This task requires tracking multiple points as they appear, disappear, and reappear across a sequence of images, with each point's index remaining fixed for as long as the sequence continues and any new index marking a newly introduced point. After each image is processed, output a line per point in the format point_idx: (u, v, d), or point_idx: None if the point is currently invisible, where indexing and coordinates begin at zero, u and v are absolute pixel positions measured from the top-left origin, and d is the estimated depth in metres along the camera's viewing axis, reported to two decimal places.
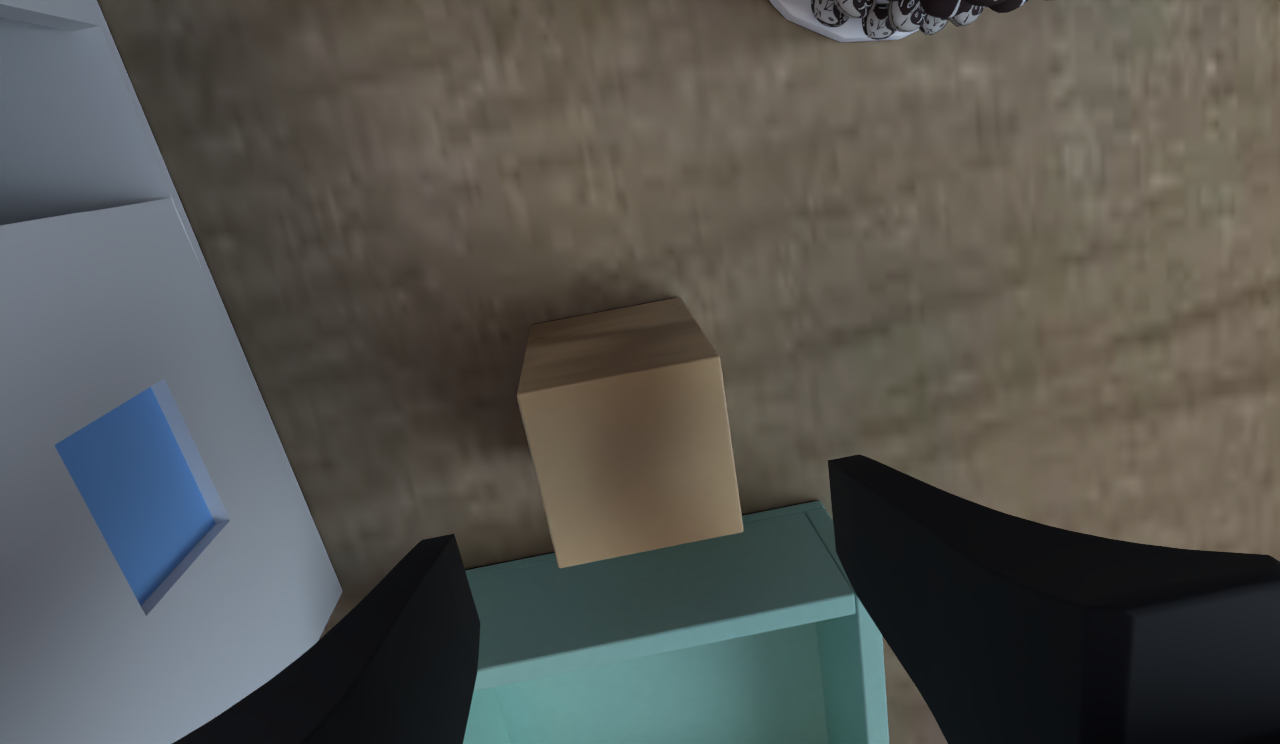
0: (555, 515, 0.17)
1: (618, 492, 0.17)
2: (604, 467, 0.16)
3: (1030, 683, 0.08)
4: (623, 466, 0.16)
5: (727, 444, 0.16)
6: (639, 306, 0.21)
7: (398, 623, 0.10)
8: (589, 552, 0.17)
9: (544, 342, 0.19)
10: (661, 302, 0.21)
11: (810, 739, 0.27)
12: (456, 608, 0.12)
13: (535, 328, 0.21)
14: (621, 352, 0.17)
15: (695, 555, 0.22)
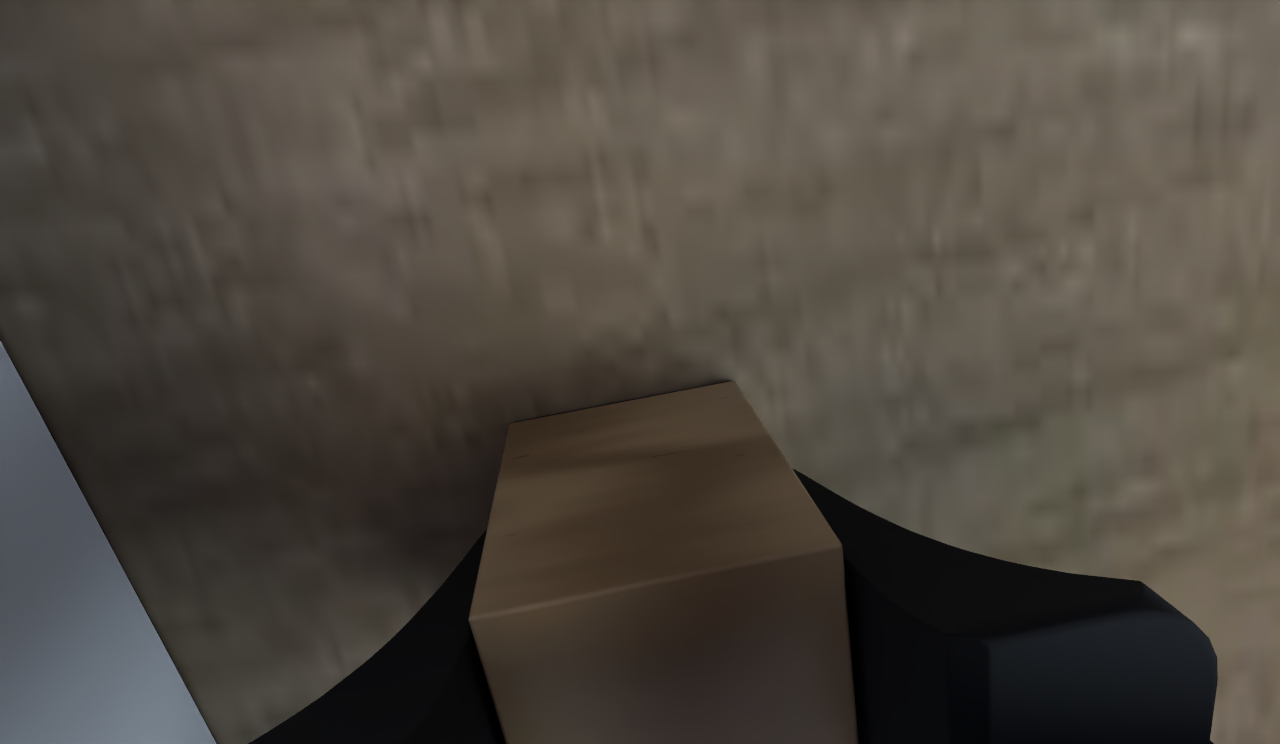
0: None
1: None
2: (627, 730, 0.09)
3: (914, 707, 0.08)
4: (662, 727, 0.09)
5: (847, 686, 0.09)
6: (673, 397, 0.14)
7: None
8: None
9: (527, 466, 0.12)
10: (707, 390, 0.14)
11: None
12: None
13: (515, 432, 0.14)
14: (655, 512, 0.10)
15: None
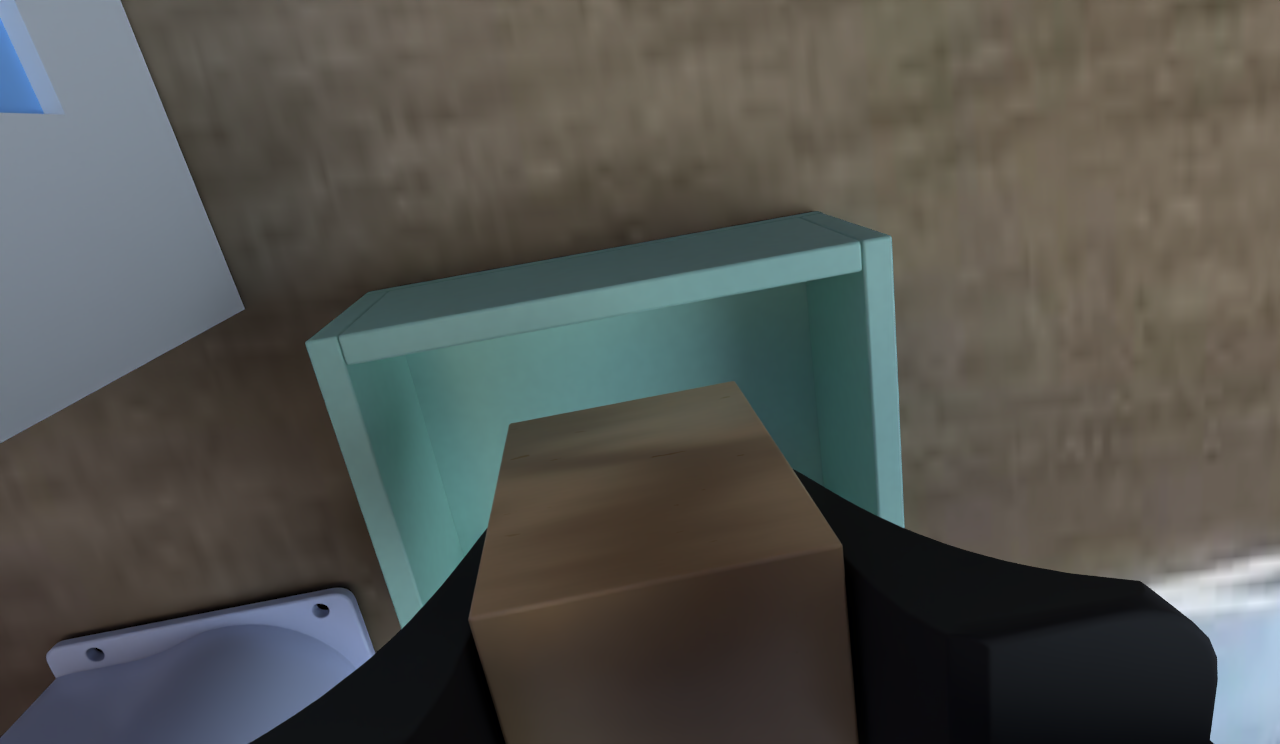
0: None
1: None
2: (627, 731, 0.09)
3: (913, 707, 0.08)
4: (662, 727, 0.09)
5: (847, 686, 0.09)
6: (673, 397, 0.14)
7: None
8: None
9: (527, 467, 0.12)
10: (707, 390, 0.14)
11: None
12: None
13: (515, 432, 0.14)
14: (656, 511, 0.10)
15: (666, 248, 0.18)
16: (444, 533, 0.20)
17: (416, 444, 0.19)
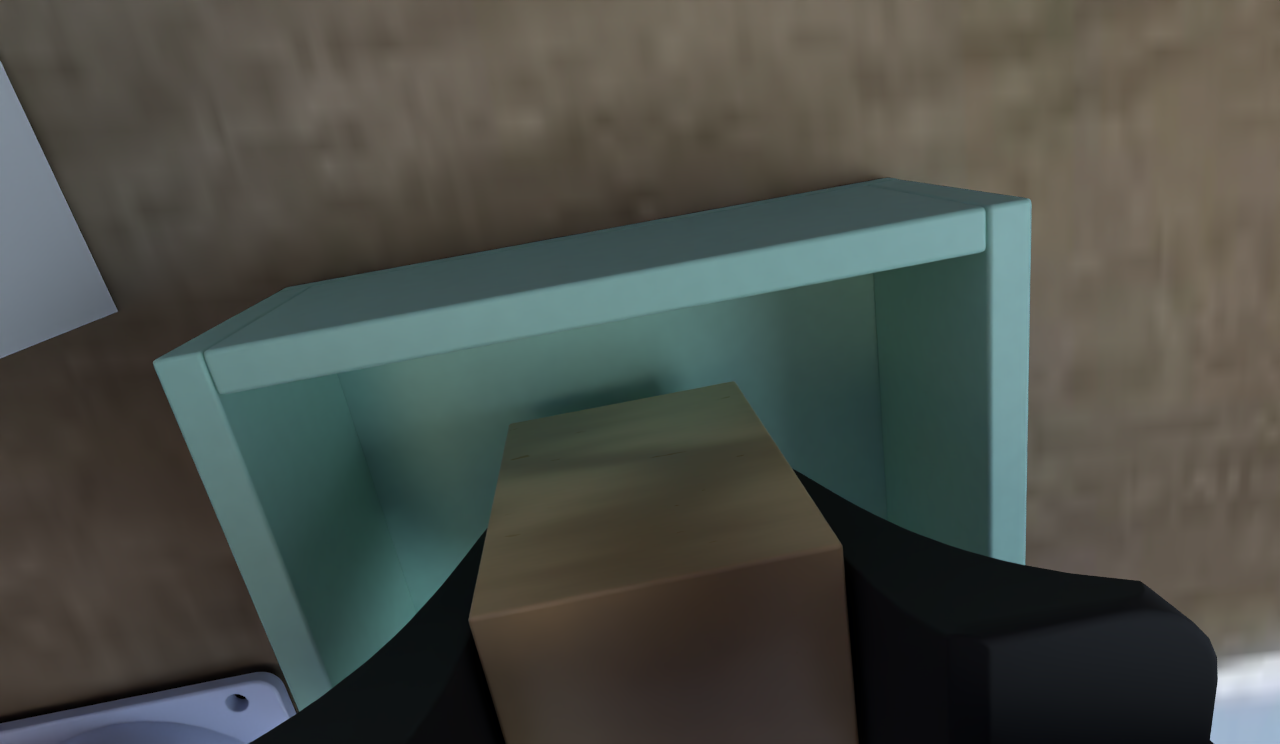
0: None
1: None
2: (628, 731, 0.09)
3: (913, 707, 0.08)
4: (662, 727, 0.09)
5: (848, 687, 0.09)
6: (673, 397, 0.14)
7: None
8: None
9: (527, 467, 0.12)
10: (707, 390, 0.14)
11: None
12: None
13: (515, 432, 0.14)
14: (656, 512, 0.10)
15: (690, 226, 0.13)
16: (391, 609, 0.15)
17: (349, 494, 0.14)
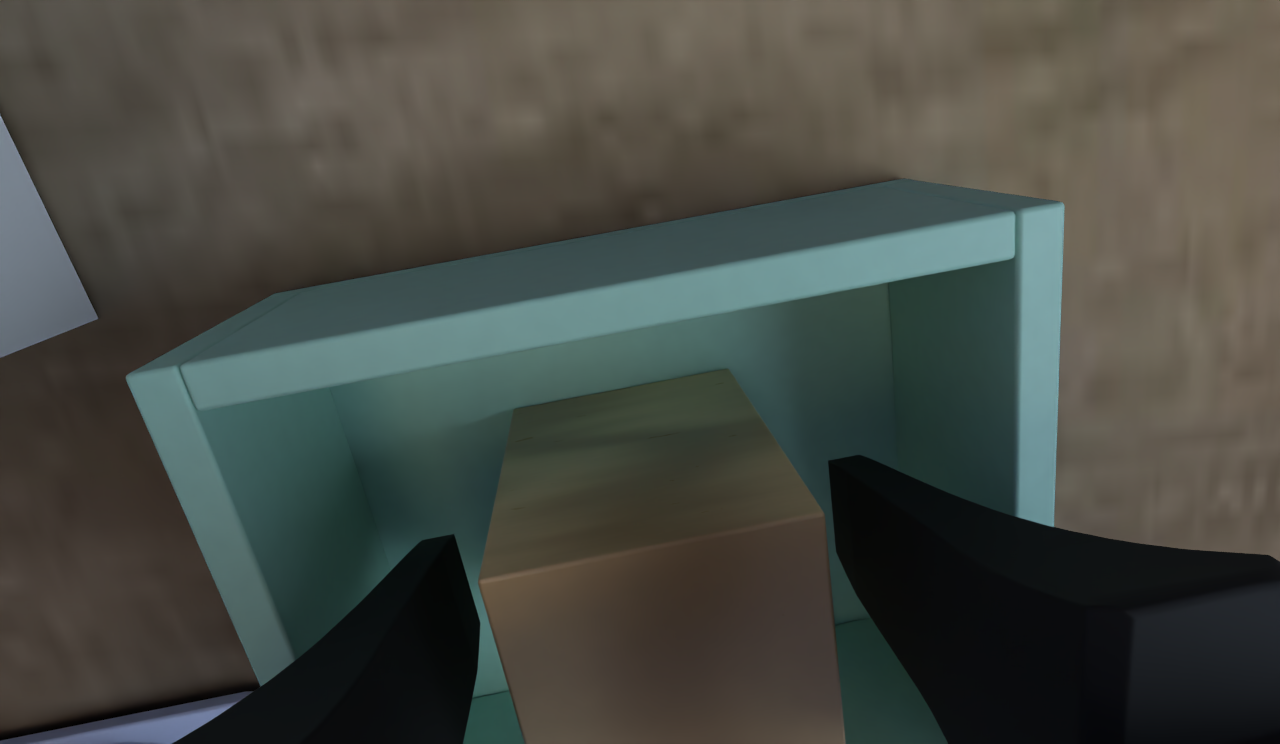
0: None
1: (649, 724, 0.10)
2: (626, 688, 0.10)
3: (1030, 683, 0.08)
4: (657, 685, 0.10)
5: (831, 648, 0.10)
6: (670, 383, 0.15)
7: (398, 623, 0.10)
8: None
9: (531, 448, 0.13)
10: (702, 377, 0.15)
11: None
12: (456, 608, 0.12)
13: (519, 417, 0.14)
14: (652, 486, 0.11)
15: (698, 229, 0.13)
16: None
17: (340, 510, 0.14)
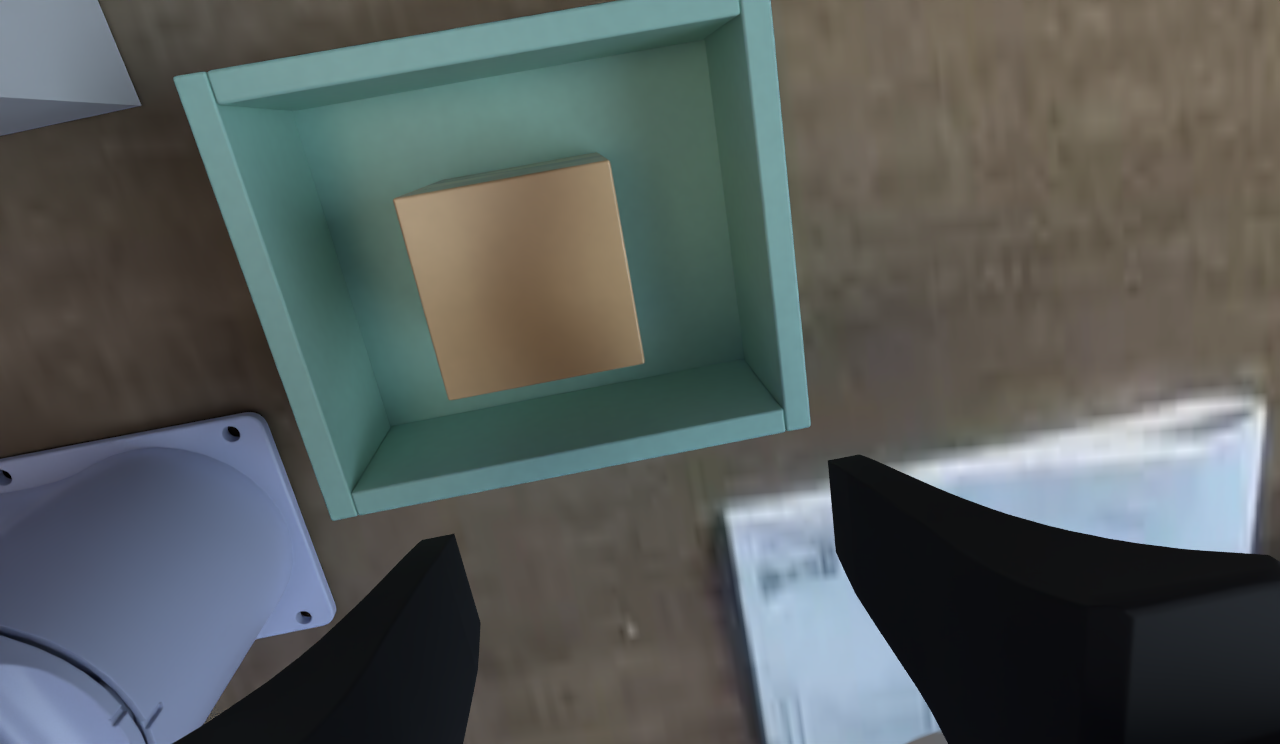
0: (441, 339, 0.16)
1: (508, 315, 0.16)
2: (491, 285, 0.15)
3: (1030, 683, 0.08)
4: (512, 284, 0.15)
5: (623, 262, 0.16)
6: (554, 160, 0.20)
7: (397, 623, 0.10)
8: (480, 382, 0.16)
9: (445, 181, 0.18)
10: None
11: (722, 352, 0.23)
12: (456, 608, 0.12)
13: (443, 180, 0.20)
14: (514, 173, 0.16)
15: None
16: (348, 339, 0.20)
17: (314, 239, 0.19)
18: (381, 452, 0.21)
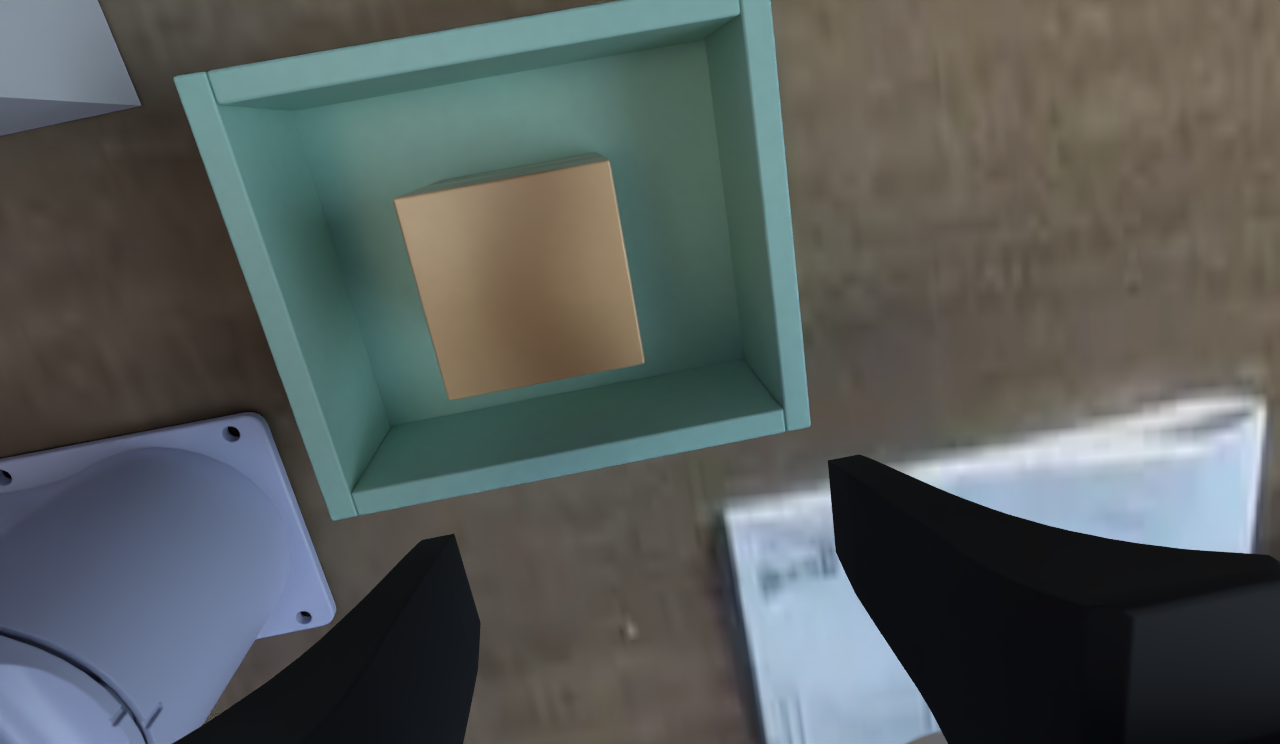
0: (441, 339, 0.16)
1: (508, 315, 0.16)
2: (491, 285, 0.15)
3: (1030, 683, 0.08)
4: (512, 284, 0.15)
5: (623, 262, 0.16)
6: (554, 160, 0.20)
7: (397, 623, 0.10)
8: (480, 382, 0.16)
9: (445, 181, 0.18)
10: None
11: (722, 352, 0.23)
12: (456, 608, 0.12)
13: (443, 180, 0.20)
14: (514, 173, 0.16)
15: None
16: (348, 339, 0.20)
17: (314, 239, 0.19)
18: (381, 452, 0.21)
